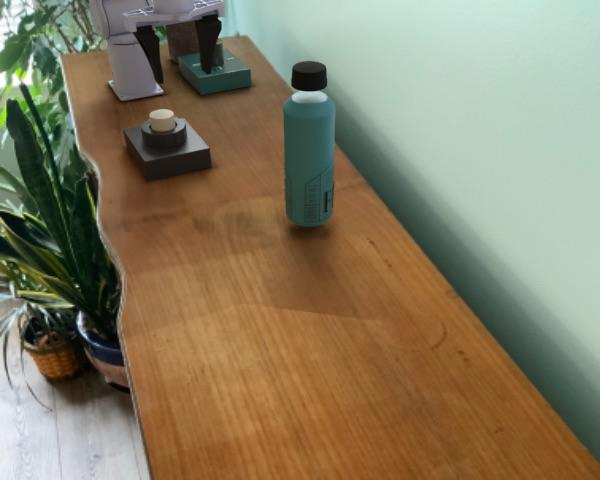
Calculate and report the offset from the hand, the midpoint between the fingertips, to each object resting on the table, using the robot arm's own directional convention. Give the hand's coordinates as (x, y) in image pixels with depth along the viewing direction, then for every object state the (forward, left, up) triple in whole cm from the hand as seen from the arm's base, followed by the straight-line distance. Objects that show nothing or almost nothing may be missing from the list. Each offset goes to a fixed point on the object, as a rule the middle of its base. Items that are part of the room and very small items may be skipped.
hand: (183, 76), depth 95 cm
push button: (+4, -5, -5) cm, 8 cm away
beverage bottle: (+31, +6, -10) cm, 33 cm away
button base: (+4, -5, -10) cm, 12 cm away
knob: (-23, +13, -7) cm, 27 cm away
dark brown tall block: (-36, +12, -10) cm, 39 cm away
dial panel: (-23, +13, -10) cm, 28 cm away
